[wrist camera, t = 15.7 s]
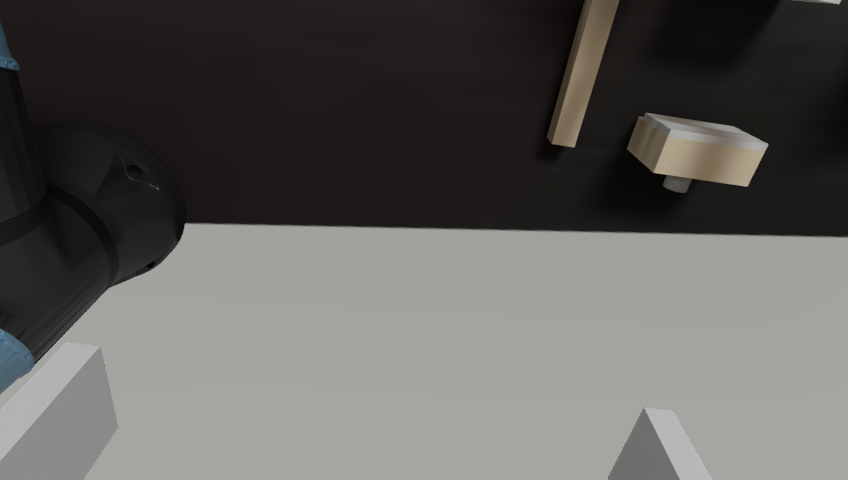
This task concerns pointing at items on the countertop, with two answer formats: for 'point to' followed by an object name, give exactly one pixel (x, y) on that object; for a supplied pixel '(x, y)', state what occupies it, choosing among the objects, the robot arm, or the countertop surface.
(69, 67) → the countertop surface
